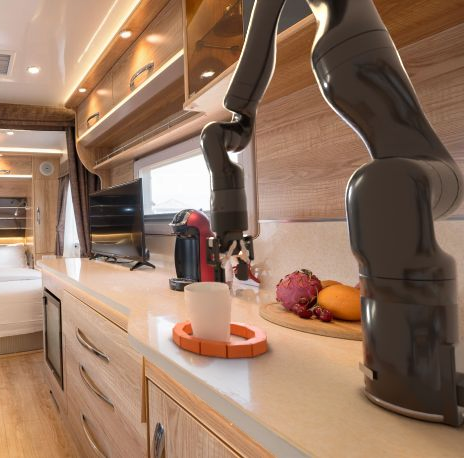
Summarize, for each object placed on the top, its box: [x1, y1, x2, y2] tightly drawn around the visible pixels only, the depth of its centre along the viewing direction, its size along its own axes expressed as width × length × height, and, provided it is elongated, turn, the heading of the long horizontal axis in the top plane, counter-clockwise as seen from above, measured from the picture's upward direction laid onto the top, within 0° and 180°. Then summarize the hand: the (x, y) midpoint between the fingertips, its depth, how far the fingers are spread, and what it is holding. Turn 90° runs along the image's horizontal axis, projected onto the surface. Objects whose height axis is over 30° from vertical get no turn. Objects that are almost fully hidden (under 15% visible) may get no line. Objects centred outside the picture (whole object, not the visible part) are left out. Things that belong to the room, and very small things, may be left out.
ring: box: [171, 319, 268, 359], centre depth 71 cm, size 18×18×2 cm
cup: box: [183, 281, 232, 342], centre depth 70 cm, size 9×9×12 cm
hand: (232, 282), depth 74 cm, fingers open, 8 cm apart
